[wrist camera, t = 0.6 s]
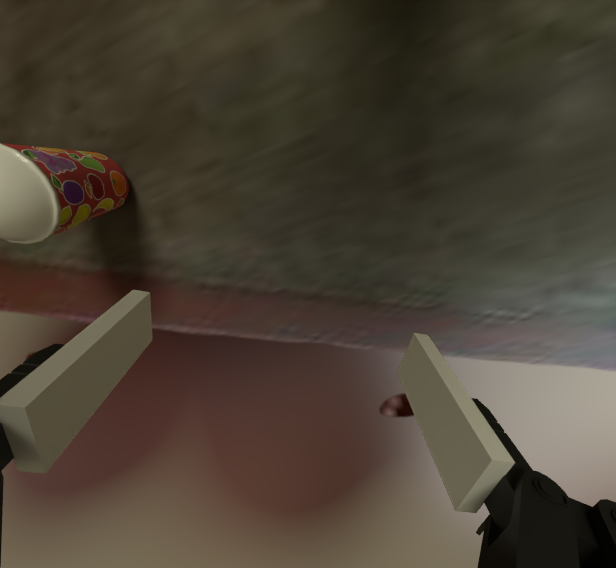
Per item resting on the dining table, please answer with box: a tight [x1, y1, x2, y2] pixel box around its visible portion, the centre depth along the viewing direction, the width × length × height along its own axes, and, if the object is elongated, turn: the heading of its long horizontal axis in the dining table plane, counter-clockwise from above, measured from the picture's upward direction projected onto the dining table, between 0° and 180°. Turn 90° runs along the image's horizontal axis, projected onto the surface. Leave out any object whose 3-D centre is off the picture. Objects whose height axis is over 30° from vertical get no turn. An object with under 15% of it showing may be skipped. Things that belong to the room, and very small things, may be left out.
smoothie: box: [0, 143, 129, 244], centre depth 27 cm, size 8×8×20 cm
